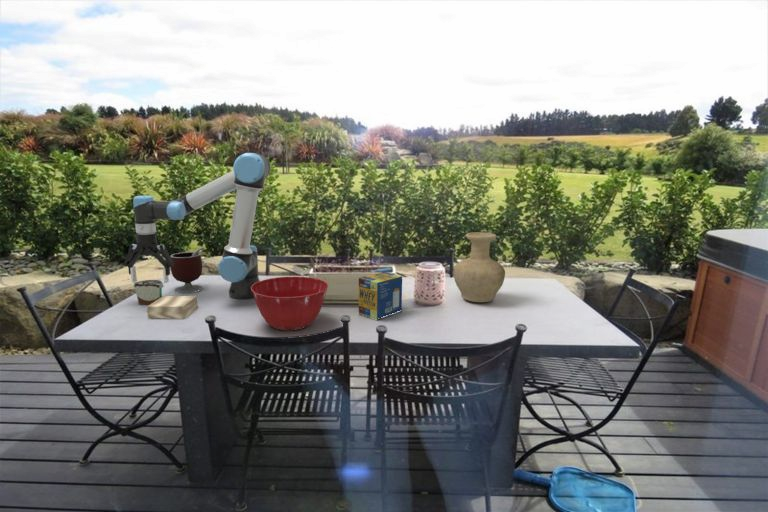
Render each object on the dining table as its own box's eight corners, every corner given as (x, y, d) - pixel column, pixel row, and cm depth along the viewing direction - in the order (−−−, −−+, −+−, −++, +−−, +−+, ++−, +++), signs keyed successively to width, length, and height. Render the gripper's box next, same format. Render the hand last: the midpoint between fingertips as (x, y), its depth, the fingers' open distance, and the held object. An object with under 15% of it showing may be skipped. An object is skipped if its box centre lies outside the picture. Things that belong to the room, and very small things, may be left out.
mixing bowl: (332, 312, 186) (332, 275, 183) (323, 339, 158) (323, 296, 155) (264, 311, 186) (262, 275, 183) (243, 338, 158) (240, 296, 155)
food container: (171, 302, 198) (168, 279, 196) (162, 306, 192) (160, 283, 190) (144, 300, 199) (142, 279, 197) (135, 305, 193) (133, 282, 191)
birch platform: (198, 307, 191) (197, 296, 190) (184, 318, 177) (183, 306, 176) (164, 307, 191) (163, 295, 190) (148, 318, 177) (146, 306, 176)
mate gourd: (178, 295, 207) (174, 252, 203) (168, 289, 217) (164, 248, 213) (212, 289, 217) (209, 248, 213) (200, 283, 227) (197, 244, 223)
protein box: (358, 314, 183) (357, 277, 180) (383, 306, 194) (384, 271, 191) (376, 321, 176) (376, 282, 173) (402, 311, 188) (403, 275, 184)
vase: (508, 308, 193) (513, 239, 186) (456, 307, 193) (459, 238, 187) (497, 293, 215) (500, 230, 208) (449, 292, 215) (452, 230, 209)
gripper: (110, 233, 185) (115, 283, 189) (172, 235, 186) (176, 285, 190) (120, 231, 192) (125, 279, 197) (180, 232, 193) (183, 280, 197)
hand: (150, 282), depth 193 cm, fingers open, 13 cm apart
